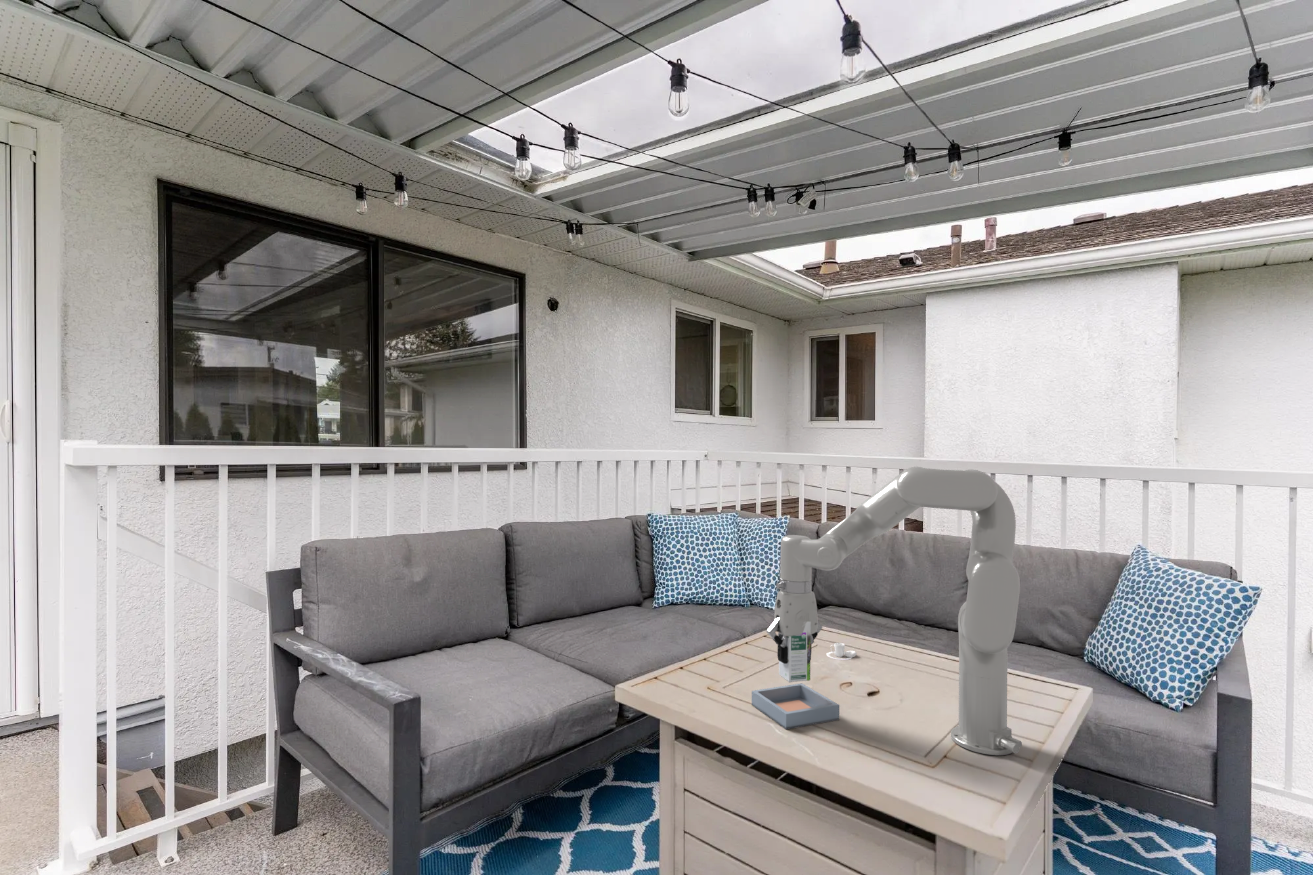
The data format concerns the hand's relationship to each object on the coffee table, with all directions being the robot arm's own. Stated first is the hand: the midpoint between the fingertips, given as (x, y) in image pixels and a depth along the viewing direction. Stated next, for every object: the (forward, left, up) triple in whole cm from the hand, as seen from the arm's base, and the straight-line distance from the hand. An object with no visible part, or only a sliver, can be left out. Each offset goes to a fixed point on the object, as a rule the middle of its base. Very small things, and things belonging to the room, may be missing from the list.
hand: (794, 659), depth 156 cm
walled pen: (0, 0, -13) cm, 13 cm away
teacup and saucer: (+28, -39, -13) cm, 50 cm away
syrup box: (0, 0, -5) cm, 5 cm away
